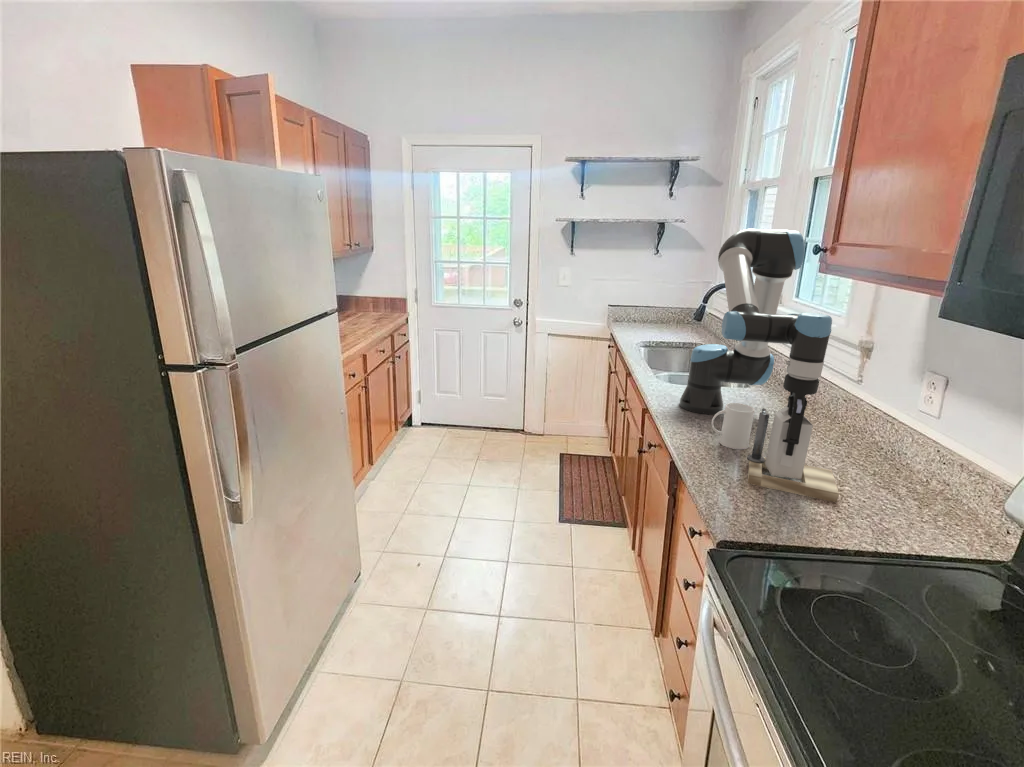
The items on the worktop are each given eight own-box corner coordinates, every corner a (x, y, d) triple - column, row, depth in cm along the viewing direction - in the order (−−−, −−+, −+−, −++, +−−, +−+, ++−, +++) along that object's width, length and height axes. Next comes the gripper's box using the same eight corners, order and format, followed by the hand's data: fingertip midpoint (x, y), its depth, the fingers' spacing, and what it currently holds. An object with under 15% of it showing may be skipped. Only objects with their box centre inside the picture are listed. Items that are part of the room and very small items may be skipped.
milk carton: (792, 467, 137) (807, 401, 132) (801, 479, 131) (816, 410, 125) (764, 464, 139) (777, 398, 133) (771, 476, 132) (785, 407, 126)
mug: (710, 446, 154) (716, 409, 151) (706, 435, 162) (711, 400, 159) (751, 451, 152) (758, 413, 149) (745, 440, 160) (751, 404, 157)
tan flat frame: (748, 462, 144) (750, 454, 144) (829, 478, 137) (831, 470, 136) (747, 483, 132) (749, 474, 132) (836, 502, 124) (838, 493, 124)
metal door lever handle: (746, 459, 146) (755, 407, 142) (762, 462, 145) (773, 409, 140) (745, 469, 140) (755, 415, 135) (763, 472, 138) (773, 418, 134)
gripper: (784, 364, 137) (768, 442, 144) (787, 384, 119) (770, 472, 126) (815, 368, 134) (798, 447, 141) (824, 389, 116) (804, 478, 123)
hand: (785, 459), depth 133 cm, fingers closed on milk carton, 8 cm apart
